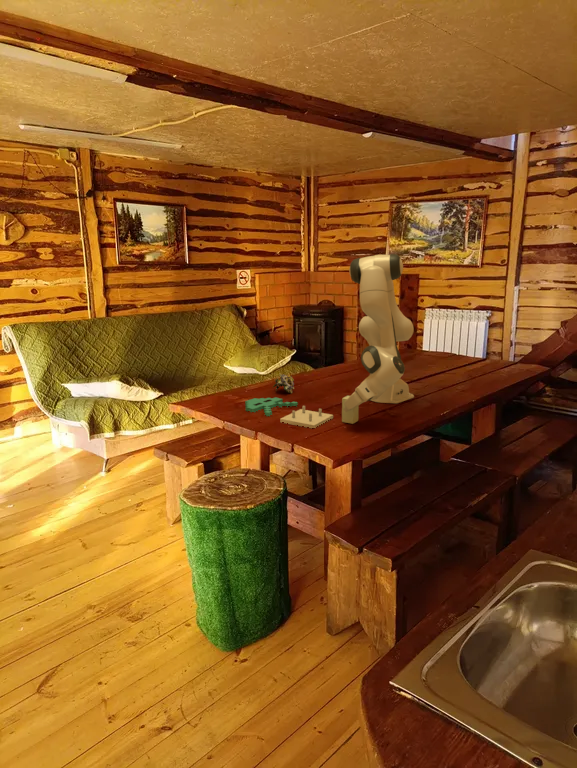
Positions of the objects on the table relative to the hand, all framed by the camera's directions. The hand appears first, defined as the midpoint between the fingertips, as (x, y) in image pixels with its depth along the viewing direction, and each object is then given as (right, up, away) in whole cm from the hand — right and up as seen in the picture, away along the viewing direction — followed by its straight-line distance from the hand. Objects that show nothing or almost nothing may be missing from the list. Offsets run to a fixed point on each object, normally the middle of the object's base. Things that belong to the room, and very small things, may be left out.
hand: (348, 408), depth 225 cm
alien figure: (-35, -1, +23) cm, 42 cm away
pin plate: (-17, -5, +4) cm, 18 cm away
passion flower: (-27, +6, +47) cm, 55 cm away
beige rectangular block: (+1, -5, +1) cm, 5 cm away
